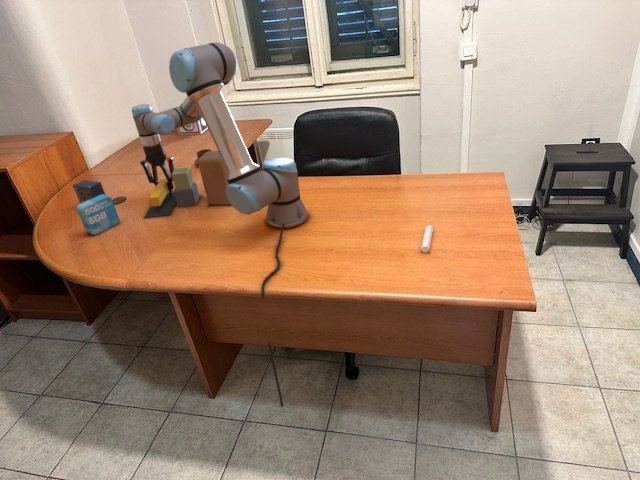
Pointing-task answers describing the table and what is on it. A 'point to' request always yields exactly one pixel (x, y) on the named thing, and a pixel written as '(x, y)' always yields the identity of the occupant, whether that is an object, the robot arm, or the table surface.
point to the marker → (427, 238)
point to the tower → (185, 187)
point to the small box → (88, 190)
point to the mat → (162, 207)
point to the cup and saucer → (199, 154)
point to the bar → (159, 193)
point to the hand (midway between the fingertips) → (167, 196)
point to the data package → (98, 214)
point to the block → (214, 177)
